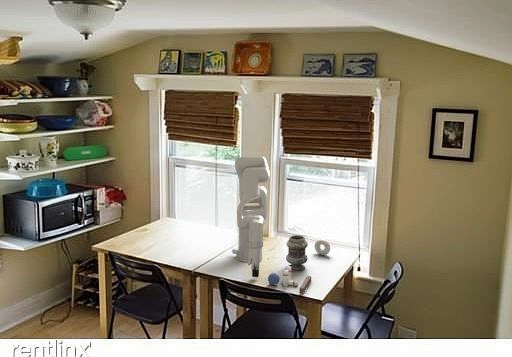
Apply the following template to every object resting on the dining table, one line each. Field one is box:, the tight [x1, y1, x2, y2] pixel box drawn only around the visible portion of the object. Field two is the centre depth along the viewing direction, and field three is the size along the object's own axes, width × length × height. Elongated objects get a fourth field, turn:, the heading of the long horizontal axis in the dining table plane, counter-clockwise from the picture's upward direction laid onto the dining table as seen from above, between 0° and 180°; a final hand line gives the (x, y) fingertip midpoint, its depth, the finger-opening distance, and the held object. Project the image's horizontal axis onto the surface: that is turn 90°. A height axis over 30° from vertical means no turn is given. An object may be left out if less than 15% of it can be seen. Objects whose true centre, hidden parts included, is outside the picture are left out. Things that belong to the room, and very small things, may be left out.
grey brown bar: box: [298, 275, 312, 295], centre depth 250 cm, size 2×16×3 cm, turn 160°
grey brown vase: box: [285, 234, 309, 272], centre depth 273 cm, size 12×12×18 cm
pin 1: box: [282, 269, 289, 288], centre depth 250 cm, size 2×2×8 cm
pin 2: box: [285, 265, 292, 281], centre depth 255 cm, size 2×2×8 cm
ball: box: [267, 272, 281, 286], centre depth 252 cm, size 6×6×6 cm
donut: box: [314, 238, 331, 256], centre depth 294 cm, size 10×4×10 cm, turn 57°
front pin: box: [280, 278, 299, 287], centre depth 252 cm, size 2×2×8 cm
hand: (255, 276), depth 259 cm, fingers closed
